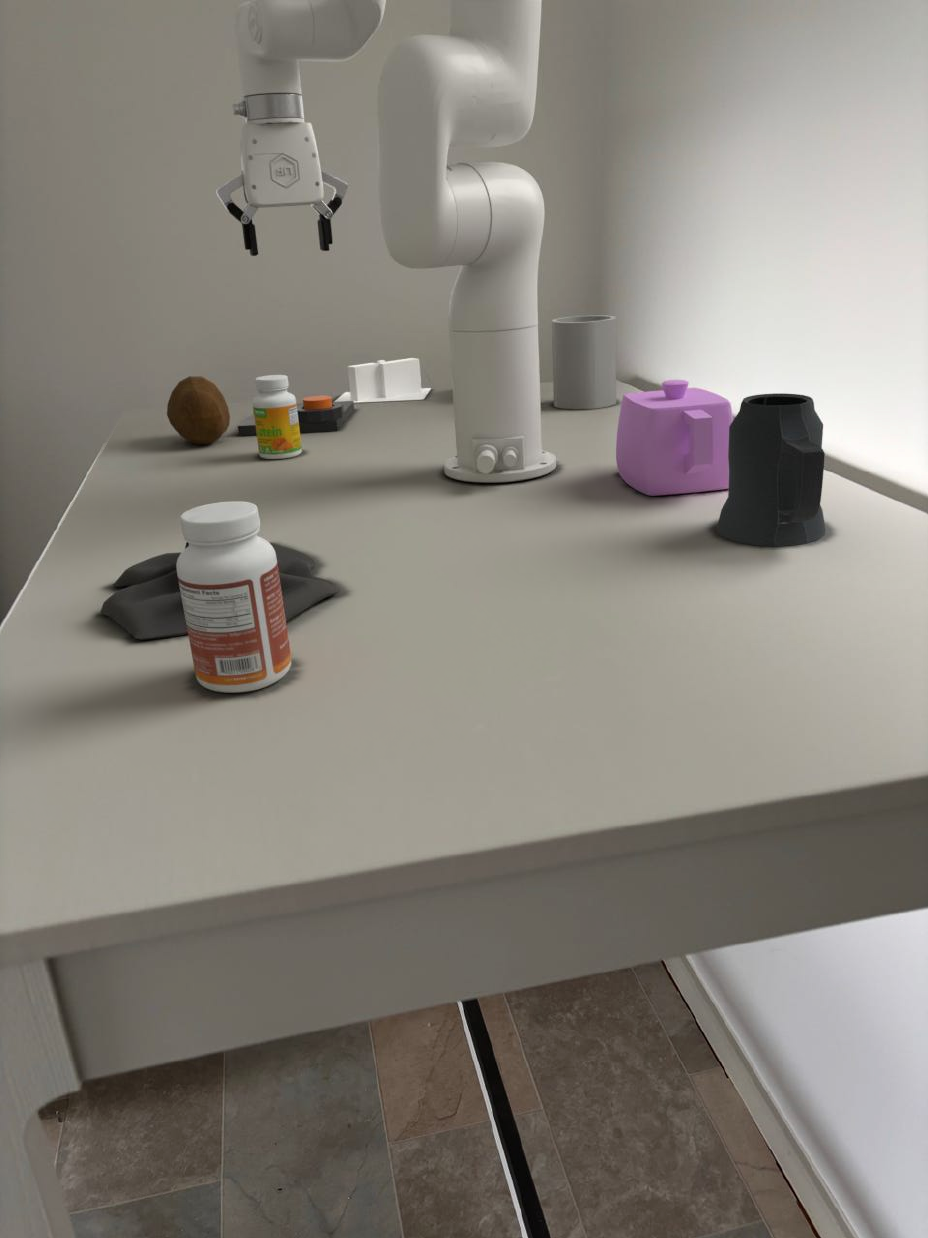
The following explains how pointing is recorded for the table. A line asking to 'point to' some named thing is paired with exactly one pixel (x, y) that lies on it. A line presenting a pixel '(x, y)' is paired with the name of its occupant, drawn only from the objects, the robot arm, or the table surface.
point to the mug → (774, 472)
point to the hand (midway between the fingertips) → (289, 252)
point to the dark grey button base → (310, 419)
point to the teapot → (674, 440)
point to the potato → (198, 410)
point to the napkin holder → (385, 382)
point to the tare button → (317, 402)
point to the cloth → (159, 601)
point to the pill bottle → (232, 599)
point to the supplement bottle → (276, 418)
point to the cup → (584, 361)
